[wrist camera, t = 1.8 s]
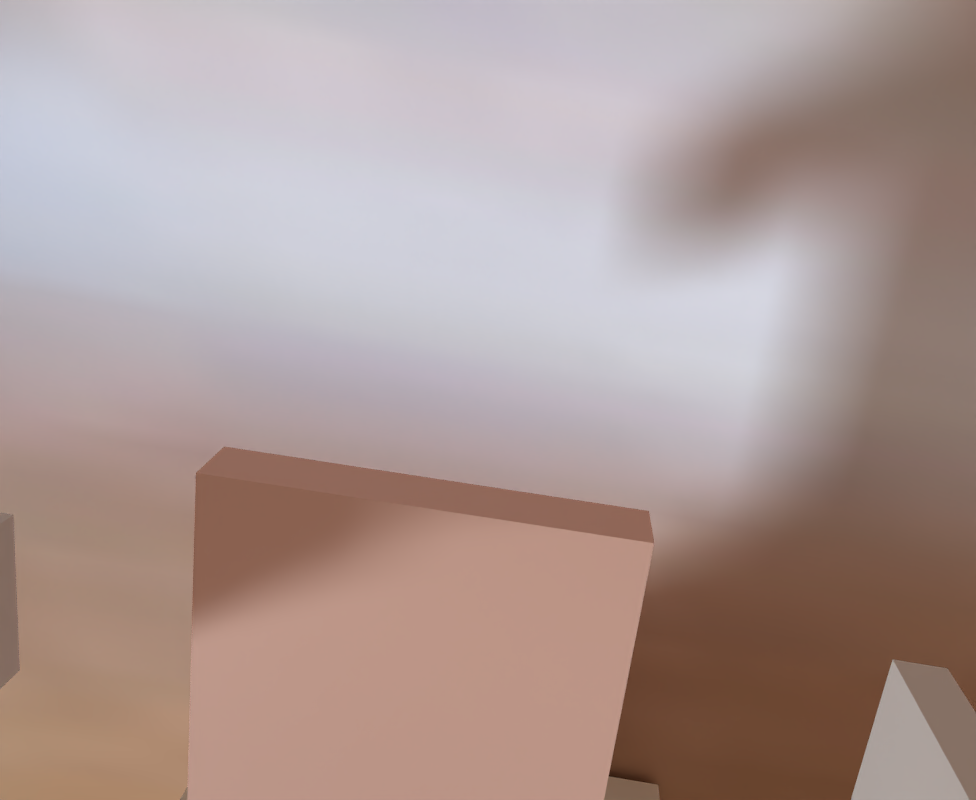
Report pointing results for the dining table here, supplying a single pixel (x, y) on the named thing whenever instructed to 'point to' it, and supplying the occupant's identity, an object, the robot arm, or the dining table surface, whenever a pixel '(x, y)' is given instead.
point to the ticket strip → (405, 635)
